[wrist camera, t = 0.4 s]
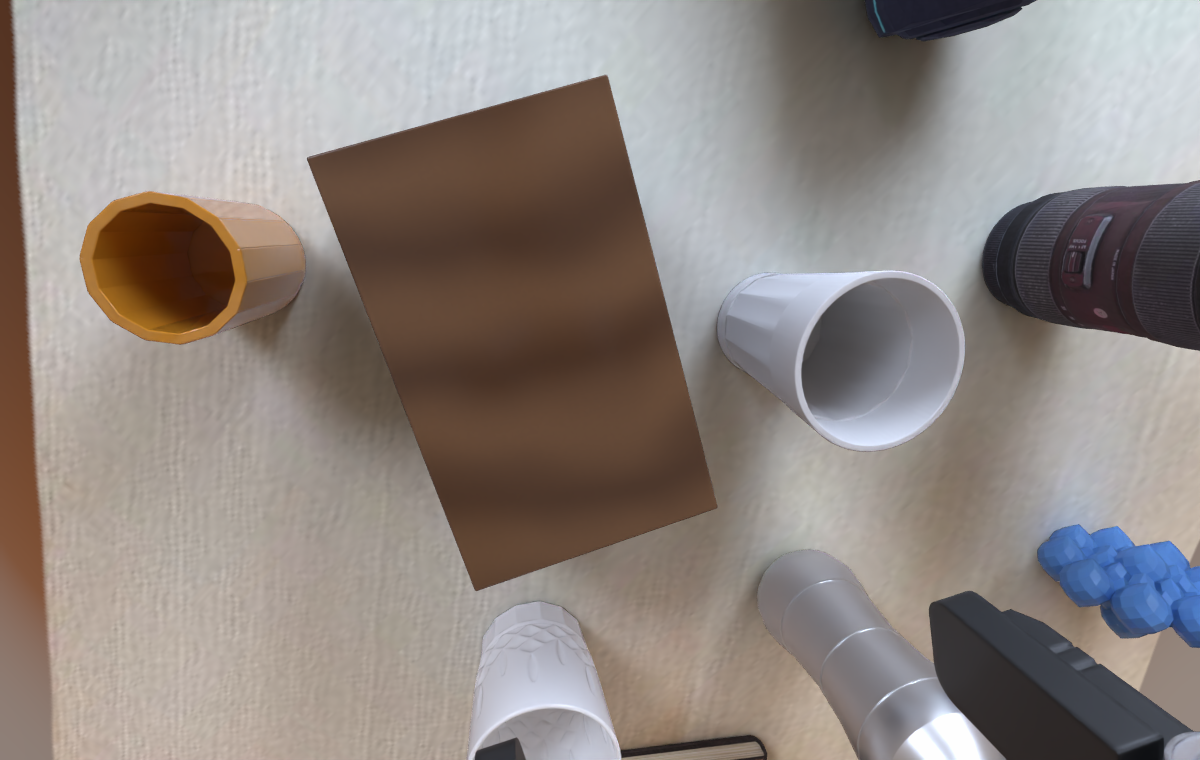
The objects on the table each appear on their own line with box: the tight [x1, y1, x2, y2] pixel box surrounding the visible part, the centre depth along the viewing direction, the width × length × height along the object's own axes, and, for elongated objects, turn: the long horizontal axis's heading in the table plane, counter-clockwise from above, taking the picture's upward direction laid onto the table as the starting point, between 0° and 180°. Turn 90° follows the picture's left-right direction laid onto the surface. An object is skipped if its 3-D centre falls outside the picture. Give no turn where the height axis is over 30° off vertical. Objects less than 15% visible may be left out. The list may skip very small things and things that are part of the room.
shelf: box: [307, 75, 718, 591], centre depth 30 cm, size 18×11×12 cm, turn 16°
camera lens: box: [982, 180, 1200, 351], centre depth 33 cm, size 8×8×15 cm
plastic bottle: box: [757, 549, 1007, 760], centre depth 33 cm, size 6×7×20 cm
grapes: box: [1037, 524, 1200, 648], centre depth 40 cm, size 12×7×12 cm, turn 85°
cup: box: [717, 271, 965, 452], centre depth 33 cm, size 8×8×12 cm
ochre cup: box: [80, 191, 306, 345], centre depth 29 cm, size 6×6×8 cm
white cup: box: [466, 601, 621, 760], centre depth 36 cm, size 8×8×10 cm
